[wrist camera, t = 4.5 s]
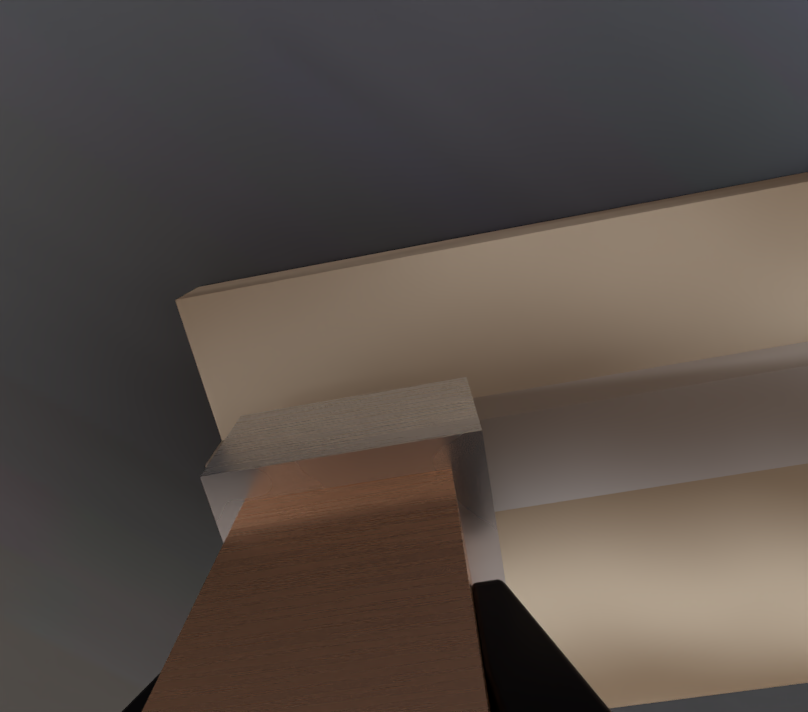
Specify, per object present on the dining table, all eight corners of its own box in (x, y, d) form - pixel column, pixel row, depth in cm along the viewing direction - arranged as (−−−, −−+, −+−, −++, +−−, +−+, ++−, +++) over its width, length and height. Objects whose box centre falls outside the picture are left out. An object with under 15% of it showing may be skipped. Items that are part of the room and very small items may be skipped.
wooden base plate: (1006, 610, 14) (1268, 803, 10) (329, 702, 15) (299, 910, 11) (1118, 113, 10) (1634, 73, 6) (198, 286, 11) (72, 358, 7)
